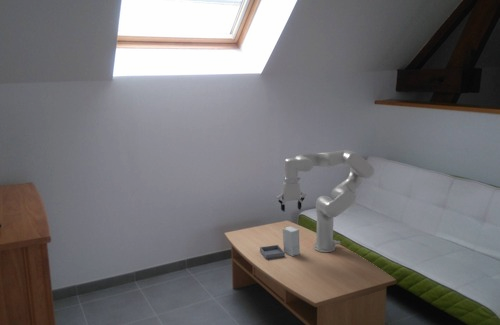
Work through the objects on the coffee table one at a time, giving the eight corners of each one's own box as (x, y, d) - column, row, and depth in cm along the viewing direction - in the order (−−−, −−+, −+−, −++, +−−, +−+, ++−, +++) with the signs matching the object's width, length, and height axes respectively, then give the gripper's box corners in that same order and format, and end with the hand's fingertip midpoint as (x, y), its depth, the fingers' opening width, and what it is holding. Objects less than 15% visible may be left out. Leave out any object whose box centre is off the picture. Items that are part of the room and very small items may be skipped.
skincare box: (300, 254, 240) (300, 229, 237) (291, 256, 237) (291, 232, 234) (290, 249, 247) (290, 225, 244) (282, 251, 244) (282, 227, 241)
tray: (277, 249, 248) (277, 244, 247) (284, 256, 237) (284, 252, 237) (259, 251, 245) (259, 247, 244) (265, 259, 234) (265, 254, 234)
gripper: (303, 177, 239) (302, 206, 243) (274, 180, 234) (274, 209, 238) (308, 180, 232) (308, 210, 236) (278, 183, 227) (279, 213, 231)
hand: (291, 209), depth 237 cm, fingers open, 9 cm apart
